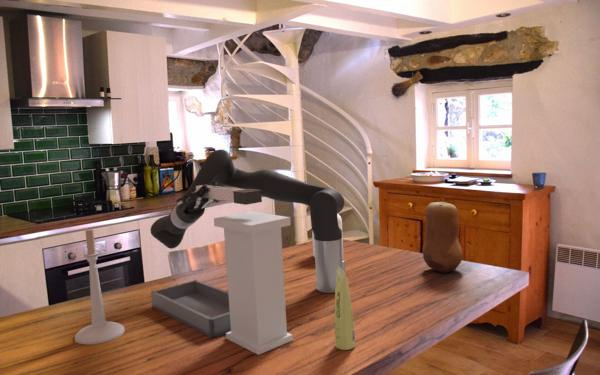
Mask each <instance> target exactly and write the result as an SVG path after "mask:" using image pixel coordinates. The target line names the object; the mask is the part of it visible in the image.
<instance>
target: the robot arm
mask: <svg viewBox="0 0 600 375" xmlns="http://www.w3.org/2000/svg"><path fill="white" fill-rule="evenodd" d="M212 182H214V183H213V184H212ZM211 184H212V186H220V185H222V186H226V187H230V188H239V189H255V190H261V195H262V197H265V198H268V199H271V200H274V201H278V202H284V203H293V204H301V205H305V206H307V207H309V214H310V215H309V216H310V224H311V225H310V226H311V232H312V231H313V233H314V243H315V258H314V259H315V260H314V261H315V283H316V290H317V291H318V292H320V293H324V294H332V293H334V294H335V289H336V274H337V269H338V266H339V267H340V269H341V270H342V271H343V272H344V273H345V276H347V275H346V274H347V273H346V261H345V260H344V244H342V235H343V229H342V230H341V229H340V228H339V226H338V217H337V214H340V213H341V212H342V210H343V209H344V206H345V198H344V197H343V195H342V194H341V192H339V190H336V189H335V188H332V187H326V186H325V187H324V186H321V185H317V184H311V183H307V182H304V181H302V180H299V179H297V178H294V177H291V176H288V175H286V174H283V173H279V172H276V171H273V170H269V169H260V170H256V171H253V172H252V171H251V172H249V171H245V170H241V169H239V168H237V167H236V166H234V162H233V159H232V156H231V155H230V153H229V152H228V151H227V150H225V149H216V150H214V151H212V152H211V153H209V154H208V155H207V157H206V158H205V160H204V161H203V164H202V166H201V167H200V169H199V171H198V173H197V174H196V176H195V177H194V179H193V181H192V182H191V185H190V186H189V188H188V189H187V190H186V191H185V193H184V194H183V195H182V196H181V197H179V198H178V199H176V200H175V202H176V204H175V205H174V206H173V208H172V210H171V211H170V213H169V214H168V215H165V216H162V217H159V218H158V219H156V220H155V221H154V222H153V223H152V225H151V227H150V234H151V236H152V237H153V238H154V239H155V240H157V241H158V242H159V243H161V244H163V246H165V247H166V248H168V249H170V250H171V249H175V248H177V247H178V246H180V245H181V243H182V241H183V239H184V236H185V234H186V231H187V230H188V228H190V227H191V226H193V225H194V224H195V223H196V222H197V221H198V220H199V219H200V218H201V217H202V216H203V215H204V213H205V210H206V207H207V206H209V205H210V204H211V203H212V202H213V203H214V204H217V203H219V202H220V200H217V199H210V198H203V196H204V195H205V194H206V193H207V192H208V188H207V185H211ZM219 184H220V185H219ZM200 185H203V186H202V187H201V188H200V189H199V190H196V186H200Z"/></svg>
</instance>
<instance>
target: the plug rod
mask: <svg viewBox="0 0 600 375" xmlns="http://www.w3.org/2000/svg"><path fill="white" fill-rule="evenodd" d="M212 185H213V184H212ZM212 185H211V184H210V185H207V188H208V192H207V193H206V194H205V195H204V196H203V198H210V199H217V200H219V201H226V202H230V203H231V202H232V203H233V204H239V205H246V206H247V205H252V204H253V205H254V204H258V203H262V201H263V199H262V197H263V196H262V195H261V190H255V189H240V188H236V187H231V186H220V185H219V186H212ZM202 186H203V185H200V186H196V190H199V189H200V188H201V187H202Z"/></svg>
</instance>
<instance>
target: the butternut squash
mask: <svg viewBox="0 0 600 375" xmlns="http://www.w3.org/2000/svg"><path fill="white" fill-rule="evenodd" d="M425 221H426V222H425V223H426V225H425V239H424V243H423V246H422V257H423V260H424V262H425V264H426V265H427V267H428V268H430V269H432V270H435V271H437V272H438V273H443V274H447V273H449V272H453V271H455V270H457V268H458V267H460V264H461V262H462V261H463V250H462V247H461V244H460V241H459V239H458V233H459V228H460V227H459V226H460V223H459V222H460V221H459V212H458V208H457V207H456V206H455V205H454V204H452V203H448V202H444V201H437V202H430V203H429V204H428V205H427V206H426V210H425Z"/></svg>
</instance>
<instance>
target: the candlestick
mask: <svg viewBox="0 0 600 375" xmlns="http://www.w3.org/2000/svg"><path fill="white" fill-rule="evenodd" d="M85 239H86V240H85V242H86V248H87V253H85V254H84V256H85V257H86V261H87V262H88V265H89V267H88V268H89V269H88V270H89V272H88V273H89V287H90V288H89V289H90V290H89V291H90V308H91V312H90V313H91V324H89V325H87V326H85V327H82V328H81V329H79V331H78V332H76V334H75V336H74V341H75V342H76V343H77V344H79V345H98V344H102V343H103V344H104V343H107V342H109V341H113V340H115V339H118V338H119V337H121V336H122V335H123V334H124V333H125V331H126V330H125V326H124V325H123V324H121V323H119V322H116V321H107V320H106V314H105V307H104V302H103V296H102V288H101V284H100V277H99V271H98V265H97V260H98V259H99V258H98V256H99V251H96V242H95V233H94V229H93V228H90V227H88V229H85Z"/></svg>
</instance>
